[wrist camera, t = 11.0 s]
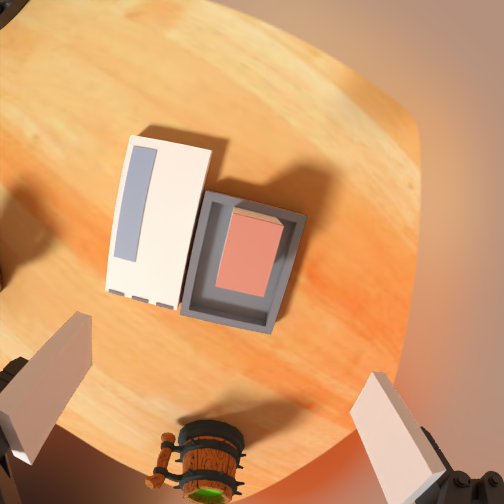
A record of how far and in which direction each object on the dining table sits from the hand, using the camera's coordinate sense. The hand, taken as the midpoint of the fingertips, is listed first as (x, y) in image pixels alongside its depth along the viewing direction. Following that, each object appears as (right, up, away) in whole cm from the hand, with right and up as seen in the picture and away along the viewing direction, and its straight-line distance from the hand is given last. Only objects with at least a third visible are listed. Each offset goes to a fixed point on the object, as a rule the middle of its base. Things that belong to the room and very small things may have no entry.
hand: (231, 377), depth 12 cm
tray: (0, +4, +18) cm, 19 cm away
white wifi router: (-9, +8, +17) cm, 21 cm away
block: (0, +7, +17) cm, 18 cm away
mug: (-6, -21, +25) cm, 33 cm away
